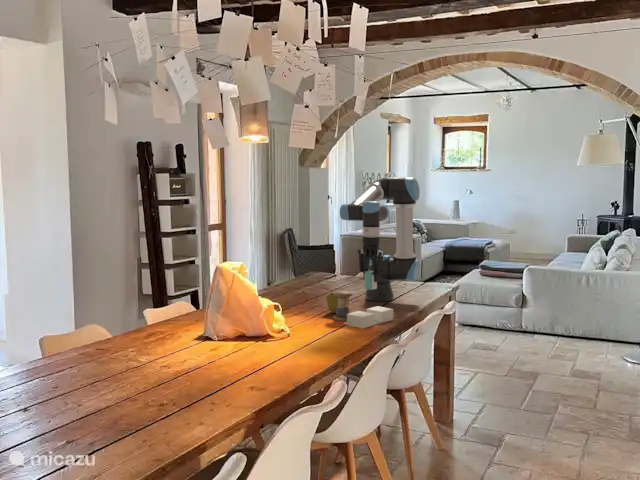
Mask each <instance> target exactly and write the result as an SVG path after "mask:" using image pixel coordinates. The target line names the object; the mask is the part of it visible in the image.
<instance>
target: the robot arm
mask: <svg viewBox="0 0 640 480" xmlns="http://www.w3.org/2000/svg"><path fill="white" fill-rule="evenodd" d="M419 185H420V184H419V182H418V180H417V179H416V178H415V177H409V176H400V177H399V176H395V177H394V176H393V177H391V176H389V177H388V176H386V177H382V178H379V179H377V180H374V181H373V182H371V183H370V184H369V185H367V187H366V189H365V191H364V192H362V193H361V194H360V195H359V196H358V197H357V198H355V200H353V201H352V202H351V203H344V204H341V206H340V207H339V217H340V220H343V221H349V222H350V221H355V222H362V248H361V249H358V250H357V253H358V261H359V262H358V263H359V265H358V266H359V272H362V274H363V281H364V289H365V271H370V270H371V271H373V275H372V289H373V290H368V289H366V291H365V298H364V299H365V300H367V301H371V302H391V301H393V300H394V299H395V298H394V297H395V295H394V293H393V288H392V285H391V284H392V281H395V282H396V281H397V282H415V281H416V280H417V278H418V275H419V272H420V267H421V262H420V260H419V259H418V258H417V255H416V253H414V243H413V242H414V225H413V224H414V217H413V216H414V212H413V211H414V210H413V209H414V206H415V205H416V203H417V201H419V199H420V193H421V192H420V186H419ZM382 200H384V201H386V200H387V201H388V200H389V201H392V204H393V206H394V207H395V237H396V238H395V239H396V243H395V247H396V252H395V253H394V255H393V257H392V255H391V254H385V251H383V250H382V251H381V250H380V247H379V246H380V240H381V239H380V237H379V236H380V233H381V232H380V230H381V227H380V222H383V221H385V220H387V219H388V217H389V216H390V210H389V208H388V206H387V205H385V204H381V203H380V201H382Z"/></svg>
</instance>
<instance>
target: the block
mask: <svg viewBox="0 0 640 480" xmlns="http://www.w3.org/2000/svg"><path fill="white" fill-rule="evenodd" d="M372 275H373V271H371V270H370V271H369V270H368V271H365V280H364V281H365V288H364V289H365V290H367V289H368V290H373V289H372Z"/></svg>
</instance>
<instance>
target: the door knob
mask: <svg viewBox="0 0 640 480" xmlns="http://www.w3.org/2000/svg"><path fill="white" fill-rule="evenodd" d="M332 293H333V296H336V297H338V306H336V313H335V315H333V316H332V319H333V320H334V321H340V322H347V314H349V313H350V306H349V305H348V306H347V297H349V298H350V297H353V292H352V291H346V290H338V291H334V292H332Z"/></svg>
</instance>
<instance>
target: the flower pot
mask: <svg viewBox="0 0 640 480" xmlns="http://www.w3.org/2000/svg"><path fill="white" fill-rule="evenodd" d="M349 301H350V297H347V306H349V305H350V304H349V303H350V302H349ZM326 304H327V306H328V307H327V308H328V309H329V311H330V312H331V314H336V306H338V297H336V296H333V292H331V293H328V294H326Z"/></svg>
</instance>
